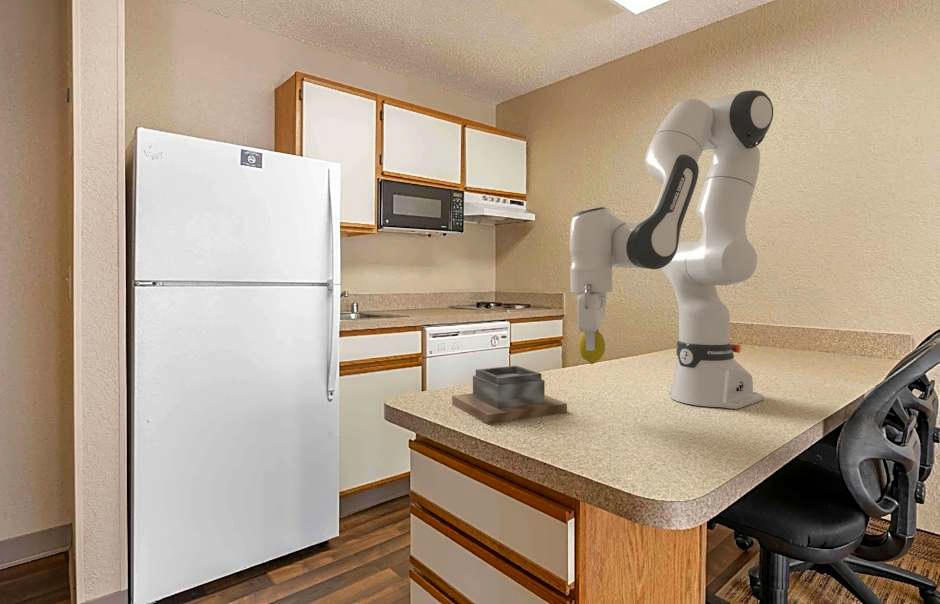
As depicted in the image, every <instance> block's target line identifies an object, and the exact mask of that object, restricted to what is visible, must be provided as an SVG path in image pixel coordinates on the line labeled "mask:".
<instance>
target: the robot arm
mask: <svg viewBox="0 0 940 604" xmlns="http://www.w3.org/2000/svg"><path fill="white" fill-rule="evenodd" d="M773 118H774V106H773V103H772V101H771V99H770V97H769V96H768V94H766V92H764V91H762V90H751V89H750V90H743V91H741V92H739V93H736V94H734V93H733V94H729V95H726V96H722V97H719V98H715V99H713V100H712V101H709V102H705V101H702V100H701V99H700V100H699V99H696V98H687V99H684V100H681V101H680V102H678V103H676V104H675V105H674V107H673V108H672V109H671V110H670V111H669V113H668V114H666V116H665V118H664V119H663V121H662V122H661V124H660V126H659V127H658V129H657V130H656V133H655V135H654V136H653V138H652V140H651V141H650V143H649V145H648V147H647V150H646V153H645V156H644V166H645V169H646V170H647V172H648V174H649V175H650V177H652V178H653V179H655V181H657V182H658V183H660V184H662V187H661V190H660V192H659V195H658V198H657V201H656V203H655V205H654V207H653V211H652V212H651V214H650V215H648V216H646V217H645V218H644V219H642V220H640V221H634V222H627V221H624V220H622V219H620V218H618V217H617V216H615V215H614V214H613V213H611V211H610V210H609V209H608V208H607V207H603V206H601V207H599V206H598V207H594V208H590V209H587V210H581V211H578V212H576V213H575V214H574V215H573V216H572V219H571V221H570V222H571V223H570V228H569V229H570V231H569V253H570V256H571V257H570V258H571V265H570V269H569V271H570V272H569V277H570V278H569V282H570V283H569V284H570V286H569V287H570V289H569V290H570V292H571V293H573V294H576V298H575V299H576V300H577V327H578V332H581V333H584V336H585V341H586V350H587V351H594V349H595V331H596V330H597V331H598V332H600V331H599V330H600V326H601V324H603V322H604V320H605V313H606V302H607V301H606V300H607V297H608V296H607V293H611V292H613V267H614V268H629V269H632V268H639V269H649V270H659V269H661V271H662V274H663V275H664V276H665V277H666V278H667V279H668V281H669V283H670V285H671V286H672V289H673V291H674V294H675V299H676V303H677V308H678V340H677V341H676V346H675V349H676V356H677V360H676V361H675V363H674V364H675V365H674V371H673V379H672V386H671V387H670V388H669V393H670V398H671V399H672V400H675V401H676V402H679V403H683V404H687V405H692V406H698V407H699V406H701V407H708V408H710V407H711V408H723V409H724V408H725V409H735V410H736V409H737V410H738V409H741V408H744V407H748V406H749V405H753V404H756V403H758V402H761V401H764V400H765V395H763V394H761V393H758V392H757V391H754V389H753V388H754V382H753V376H752V374H751V373H750V372H749V371H748V370H747V369H745V368H744V367H743V366H742V365H741V364H740V363H739V362H738V361H737V360H736V359H735V355H734V353H737V354H738V353H741V351H742V346H741V344H739V343H738V344H736V343H730V323H731V322H730V321H731V319H730V316H731V314H730V310H729V308H728V307H727V306H726V304H724V302H722V300H721V299H720V297H719V295H718V292H717V288H716V286H730V285H731V286H732V285H734V284H739V283H743V282H745V281H747V280H749V279H750V278H751V277H752V276H753V275H754V273H755V271H756V270H757V266H758V255H757V252H756V249H755V248H754V246H753V245H752V244H751V242H749V240H748V237H747V228H746V227H747V217H748V212H749V208H750V205H751V202H752V198H753V196H754V192H755V189H756V185H757V180H758V177H759V170H760V163H761V151H760V149H759V147H758V146H759V145H760V144H761V143H762V142H763V140H764V139H765V137H766V134H767V133H768V131H769V129H770V128H771V125H772V122H773ZM705 150H712V155H713V156H712V157H713V158H712V161H711V164H710V167H709V168H708V171H707V174H706V176H705V180H704V183H703V186H702V189H701V192H700V195H699V198H698V202H697V206H696V209H695V213H696V216H697V218H698V219H699V220H700V221H701V224H702V233H701V236H700V238H699V239H696V240H695V239H694V240H685V241H681V242H680V236H681V235H680V234H681V229H682V225H683V222H684V220H685V216H686V213H687V211H688V208H689V205H690V203H691V200H692V197H693V194H694V191H695V188H696V186H697V182H698V178H699V172H700V171H699V169H700V168H699V164H698V162H699V159H700V157H701V155H702V153H703V151H705ZM679 242H680V243H679Z"/></svg>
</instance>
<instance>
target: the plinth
mask: <svg viewBox="0 0 940 604" xmlns="http://www.w3.org/2000/svg"><path fill="white" fill-rule="evenodd" d="M545 386H546V385H545V380H544V379H542V373H540V372H537V371H535V370H532V369H528V368H524V367H521V366H518V365H509V366H508V365H507V366H498V367H488V368H477V369H475V374H474V375H472V392H471V393H464V394H457V395H456V394H455V395H451V397H452V398H451V399H452V400H451V405H454V406H455V407H456V408H458V409H460V410H462V411H464V412H466V413H467V414H469V415H471V416H473V418H474V417H475V419H478V420H479V421H481V422H483V423H484V424H486V425H492V424H500V423H507V422H512V421H520V420H526V419H533V418H539V417H546V416H552V415H558V414H563V413H564V414H565V413H567V412H568V403H566V402H563V400H558V399H556V398H553V397H551V396H548V395H546V394H545Z"/></svg>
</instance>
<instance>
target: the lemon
mask: <svg viewBox="0 0 940 604" xmlns="http://www.w3.org/2000/svg"><path fill="white" fill-rule="evenodd" d="M605 350H606V343H605V338H604V336H603V334H602V333H601V332H600V331H599V332H598V331H597V330H596V331H595V349H594V351H587V350H586V341H585V336H584V332H582V334H581V335H580V337H579V341H578V351H579V355H580V357H581V358H582V359H583V360H585V361H587V362H588V363H589V364H590V365H594V364H595V363H596V362H598V361H600V360H601V359H602V358H603V356H604V354H605Z"/></svg>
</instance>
